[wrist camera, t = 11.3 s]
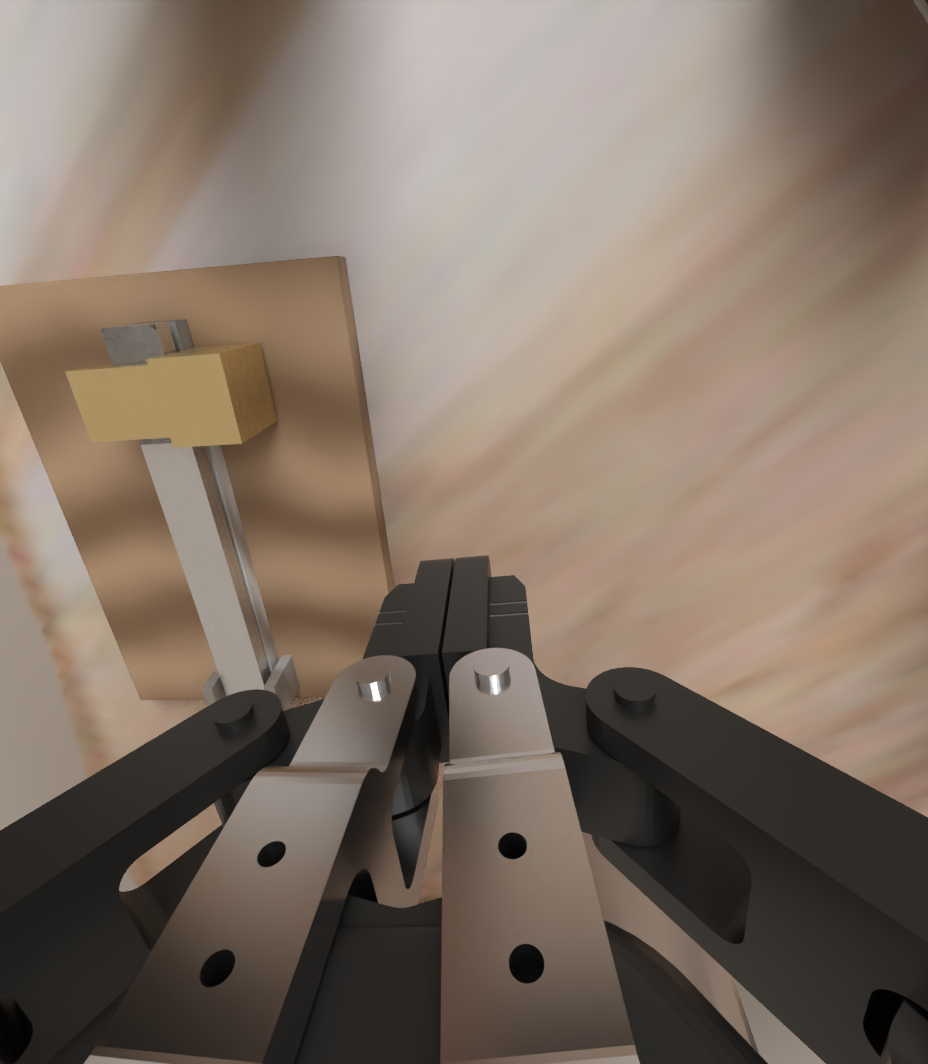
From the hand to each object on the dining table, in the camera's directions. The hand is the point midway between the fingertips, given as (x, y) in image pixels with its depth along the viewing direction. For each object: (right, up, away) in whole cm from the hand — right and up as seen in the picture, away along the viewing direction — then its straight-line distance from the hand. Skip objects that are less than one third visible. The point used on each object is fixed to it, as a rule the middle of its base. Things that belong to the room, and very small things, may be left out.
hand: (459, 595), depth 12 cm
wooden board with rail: (-13, +3, +18) cm, 22 cm away
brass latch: (-13, +8, +14) cm, 20 cm away
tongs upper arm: (-13, +1, +16) cm, 20 cm away
